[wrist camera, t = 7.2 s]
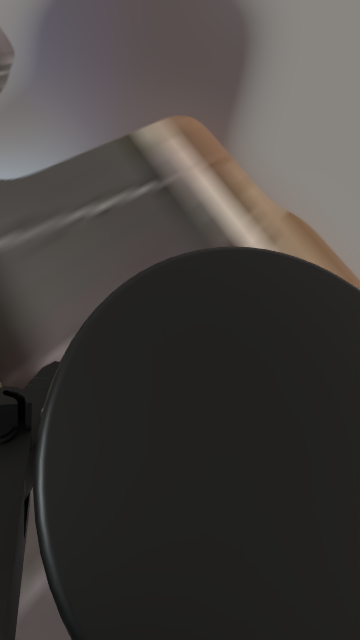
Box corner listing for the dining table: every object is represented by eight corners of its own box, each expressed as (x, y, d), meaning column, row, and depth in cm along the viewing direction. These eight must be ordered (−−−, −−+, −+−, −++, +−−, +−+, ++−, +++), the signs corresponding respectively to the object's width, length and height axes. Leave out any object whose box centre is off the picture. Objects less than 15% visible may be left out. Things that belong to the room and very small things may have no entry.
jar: (79, 519, 14) (-132, 845, 3) (110, 358, 17) (71, 210, 6) (254, 529, 15) (618, 791, 4) (250, 375, 18) (434, 275, 7)
